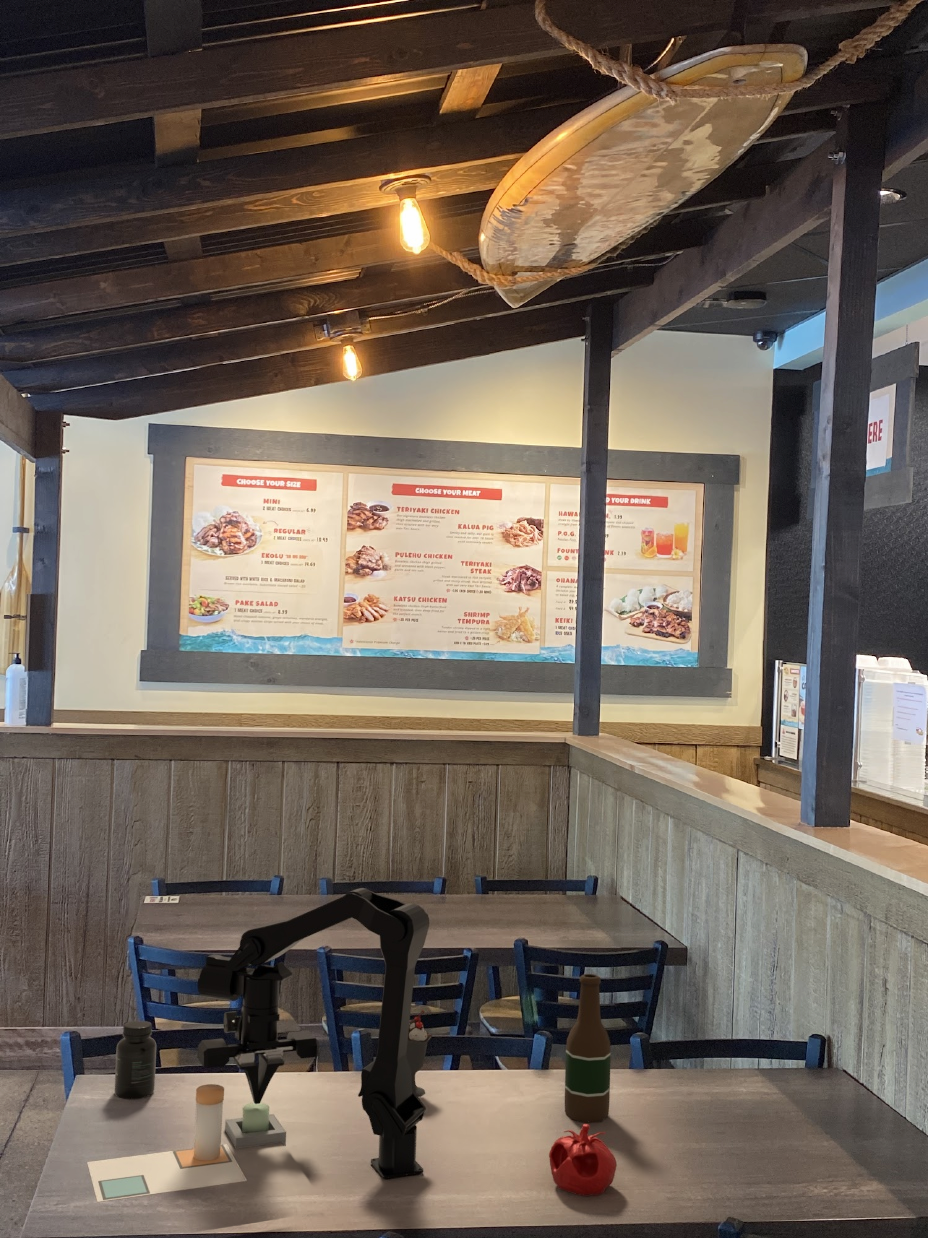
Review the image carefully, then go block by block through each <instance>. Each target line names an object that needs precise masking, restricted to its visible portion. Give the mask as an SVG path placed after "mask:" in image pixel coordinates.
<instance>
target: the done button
mask: <svg viewBox="0 0 928 1238" xmlns="http://www.w3.org/2000/svg"><path fill="white" fill-rule="evenodd" d="M269 1114H270V1105H269V1104H267V1103H264V1102H260V1104H255V1103H254V1102H250V1103H246V1104H245V1105H243V1107H242V1118H243V1119H242V1133H243V1134H246V1133H254V1132H262V1131H269Z"/></svg>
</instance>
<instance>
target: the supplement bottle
mask: <svg viewBox="0 0 928 1238" xmlns="http://www.w3.org/2000/svg"><path fill="white" fill-rule="evenodd" d="M152 1024H153V1023H151V1022H150V1021H147V1020H133V1021H128V1022H125V1023H124V1024H123V1027H122V1028H123V1029H122V1030H123V1032H122V1037H123V1038H121V1039H120V1040H119V1041H118V1042H117V1045H116V1053H115V1069H114V1070H115V1071H114V1072H115V1074H114V1075H115V1076H114V1093H115V1096H117V1097H118V1098H120V1099H123V1100H140V1099H144V1098H146V1097H149V1096H151V1095H152V1094H153V1093H154V1091H155V1085H156V1083H155V1082H156V1066H157V1065H156V1064H157V1062H156V1061H157V1060H156V1059H157V1043H156V1040H155V1039H154V1038H152V1037H151V1036H152V1034H153V1032H152V1027H153V1026H152Z"/></svg>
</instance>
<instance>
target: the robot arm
mask: <svg viewBox="0 0 928 1238" xmlns="http://www.w3.org/2000/svg"><path fill="white" fill-rule="evenodd" d="M350 919H353V920H356V921H358V922H359V923H360V924H361V925H362V926H363V927H364V928H365V929H367V930H368V931H369V932H371V933H374V934H376V935H378V936H379V947H380V951H381V954H382V957H383V960H384V965H385V967H384V969H385V971H384V978H383V979H384V980H383V992H382V1000H381V1010H380V1018H379V1030H378V1040H377V1048H376V1049H377V1050H376V1056H375V1059H374V1060H373V1061H371V1062H370V1063H369V1064H367V1065H366V1066H365V1067H363V1068H362V1069H361V1074H360V1079H361V1081H360V1082H361V1084H360V1090H359V1092H358V1094H357V1097H359V1098H360V1097H361V1107H362V1110H363V1111H365V1113H366V1114H367V1116H368V1120H369V1122H370V1126H371V1130H372V1133H373V1135H376V1136H379V1137H378V1157H376V1158H371V1159H370V1164H371V1165H372V1166H373V1167H374V1169H375V1170H376V1171H377V1172H378V1174H379V1175H380V1176H381V1178H383V1179H391V1178H392V1179H393V1178H399V1177H406V1176H412V1175H418V1174H420V1175H421V1174H423V1173H424V1168H423V1167H422V1165H420V1164H419V1162H418V1161H417V1160H416V1158H417V1155H416V1154H417V1135H418V1134H417V1133H418V1131H417V1129H418V1128H417V1124H418V1123H419V1122H421V1121H422V1120H423V1119H424V1116H425V1113H426V1110H427V1107H426V1106H425V1104H424V1103H423V1102H422V1101H421V1099H420V1098H419V1096H417V1095H416V1094H415V1093H414V1092H413V1090H412V1077H411V1070H410V1067H409V1064H408V1060H407V1057H406V1051H407V1041H408V1031H409V1022H410V1020H411V1010H412V1001H413V990H414V980H415V970H416V969H415V968H416V964H417V962H418V959H419V957H420V955H421V953H422V951H423V948H424V945H425V943H426V938H427V935H428V933H429V928H430V918H429V914H428V913H427V912H426V910H425V909H424V908H423V907H422V906H421V905H418V904H416V903H410V902H409V903H404V902H403V901H401V900H398V899H397V898H396V899H395V898H392V897H389V896H385V895H381V894H379V893H376V892H373V891H372V890H370V889H368V888H366V887H365V888H363V887H361V888H356V889H354V890H351V891H348V892H347V893H345V894H344V895H343V896H342V897H339V898H336V899H334V900H332V901H330V902H328V903H325V904H323V905H321V906H319V907H316V908H313V909H311V910H309V911H306V912H305V913H303V914H300V915H298V916H296V917H292V918H285V919H280V920H276V921H272V922H268V923H265V924H262V925H259V926H256V927H254V928H251V929H248V930H246V931H245V932H243V934H242V935H241V936H240V941H239V946H238V948H237V950H236V951H235V952H234V953H233V954H232V956H231V957H230V956H223V955H220V954H216V953H215V954H214V953H213V954H210V955H208V956H206V958H205V964H204V965H203V967H202V969H201V971H200V974H199V977H198V979H197V990H198V991H197V992H198V993H199V995H200V997H203V998H209V999H215V1000H224V1001H231V1002H236V1001H237V1000H239V998H240V997H241V996H242V1007H241V1010H240V1016H238V1011H236V1010H235V1011H225V1012H224V1013H223V1032H224V1033H225V1034H227V1033H234V1038H235V1039H236V1040H238V1041H239V1042H240V1041H241V1043H235V1044H234V1043H233V1044H227V1042H226V1040H225V1039H224V1038H215V1039H214V1038H213V1039H204V1040H203V1039H202V1040H201V1041H200V1042H199V1044H198V1046H197V1056H196V1057H197V1059H198V1061H199V1063H200V1065H201V1066H202V1067H203V1068H204V1069H213V1068H223V1067H226V1066H227V1064H228V1063H229V1062H230V1058H232V1060H233V1062H234V1063H235V1065H236V1066H237V1068H238V1070H240V1071H241V1070H242V1071H243V1072H244V1074H245V1076H246V1077H245V1078H246V1079H247V1084H248V1087H249V1090H250V1094H251V1097H252V1101H253V1103H255V1104H260V1103H262V1099H263V1098H264V1095H265V1093H266V1091H267V1089H268V1086H269V1084H270V1082H271V1080H272V1079H273V1077H274V1075H275V1073H276V1072H277V1070H278V1069H279V1067H283V1066H284V1065H285V1060H284V1059H283V1055H284V1053H287V1052H289V1053H290V1052H295V1053H296V1055H297V1056H298V1057H299V1058H300V1059H309V1058H311V1059H312V1058H317V1057H319V1056H320V1042H319V1040H318V1038H316V1037H315V1035H313V1034H312V1032H310V1031H309V1030H299V1031H289V1032H288V1034H287V1037H286V1039H285V1038H283V1039H278V1029H279V1028H278V1027H279V1021H280V1013H279V1006H280V1005H279V1004H280V1003H279V1002H280V1001H279V1000H280V999H279V998H280V982H282V981H284V980H286V979H288V978H291V977H292V976H293V972H292V971H291V969H289V968H288V967H287V966H286V965H285V963H284V962H282V961H281V962H279V963H276V964H274V965H267V964H266V965H265V963H268V962H271V960H274V959H277V958H279V957H280V956H282V955H284V954H285V953H286V952H288V951H289V950H291V949H292V948H294V947H295V946H297V944H298V943H300V942H301V941H303V940H304V939H305V938H308V937H310V936H312V935H315V934H317V933H320V932H322V931H324V930H326V929H329V928H330V927H331V928H332V927H333V926H336V925H338V924H341V923H343V922H344V921H347V920H350ZM249 966H255V968H252V967H249ZM257 1055H258V1063H257V1062H256V1056H257Z"/></svg>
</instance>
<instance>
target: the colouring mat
mask: <svg viewBox="0 0 928 1238" xmlns="http://www.w3.org/2000/svg"><path fill="white" fill-rule="evenodd" d="M193 1155H194V1147H192V1148H186V1149H178V1150H171V1151H163V1152H155V1153H147V1154H139V1155H133V1156H132V1155H131V1156H124V1157H117V1158H109V1159H101V1160H94V1161H87V1163H86V1164H87V1166H88V1167H87V1168H88V1171H89V1174H90V1179H91V1183H92V1186H93V1187H92V1188H93V1191H94V1194H95V1198H96V1202H97V1203H100V1202H109V1201H115V1200H116V1201H117V1200H123V1199H129V1198H136V1197H143V1196H144V1197H145V1196H149V1195H156V1194H165V1193H172V1192H177V1191H178V1192H179V1191H185V1190H192V1189H200V1188H207V1187H213V1186H219V1185H228V1184H235V1183H240V1182H247V1181H248V1180H247V1178H246V1176H245V1174H244V1173H243V1170H242V1169H241V1167H240V1166H239V1164H238V1161H237V1160H236V1158H235V1157H234V1155H233V1152H232V1151H231V1149H230V1148H229V1145H228V1144H227V1143H224V1144H221V1148H220V1157H219V1158H217V1159H215V1160H211V1161H200V1160H197V1159H195V1158H194V1157H193Z"/></svg>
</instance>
